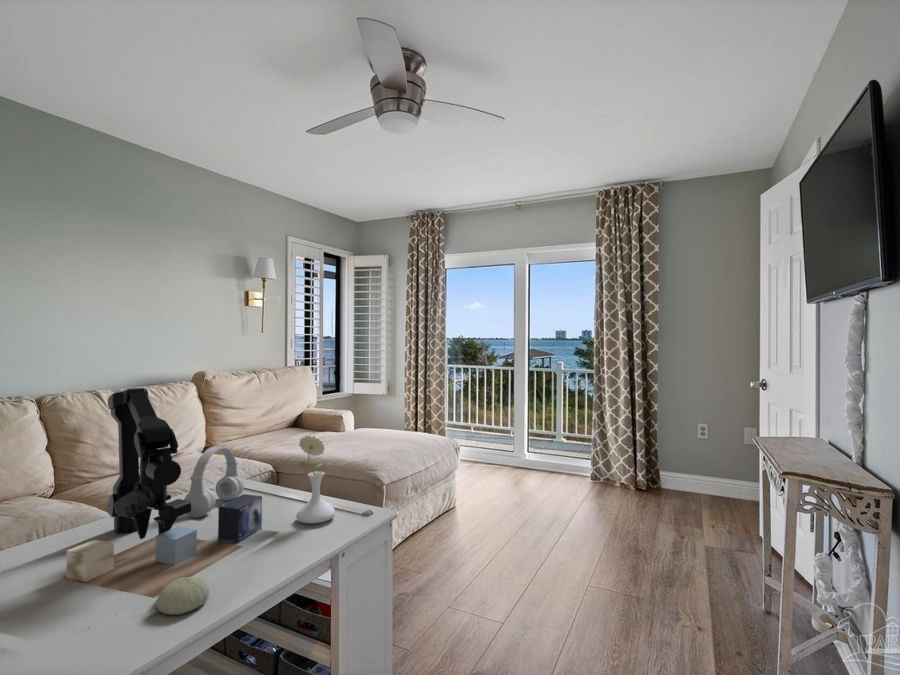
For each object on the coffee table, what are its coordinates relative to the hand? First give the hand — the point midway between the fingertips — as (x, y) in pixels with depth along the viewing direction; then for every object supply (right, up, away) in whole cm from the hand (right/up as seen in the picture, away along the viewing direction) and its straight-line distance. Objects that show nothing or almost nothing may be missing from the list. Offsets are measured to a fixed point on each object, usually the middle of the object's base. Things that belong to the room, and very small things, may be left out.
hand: (152, 540), depth 113 cm
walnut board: (+4, -4, -4) cm, 7 cm away
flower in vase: (+33, -5, +25) cm, 41 cm away
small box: (+17, -5, +11) cm, 21 cm away
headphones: (-3, -5, +36) cm, 36 cm away
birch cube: (-8, -3, -10) cm, 13 cm away
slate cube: (+4, 0, -1) cm, 5 cm away
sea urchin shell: (+19, -5, -20) cm, 28 cm away
